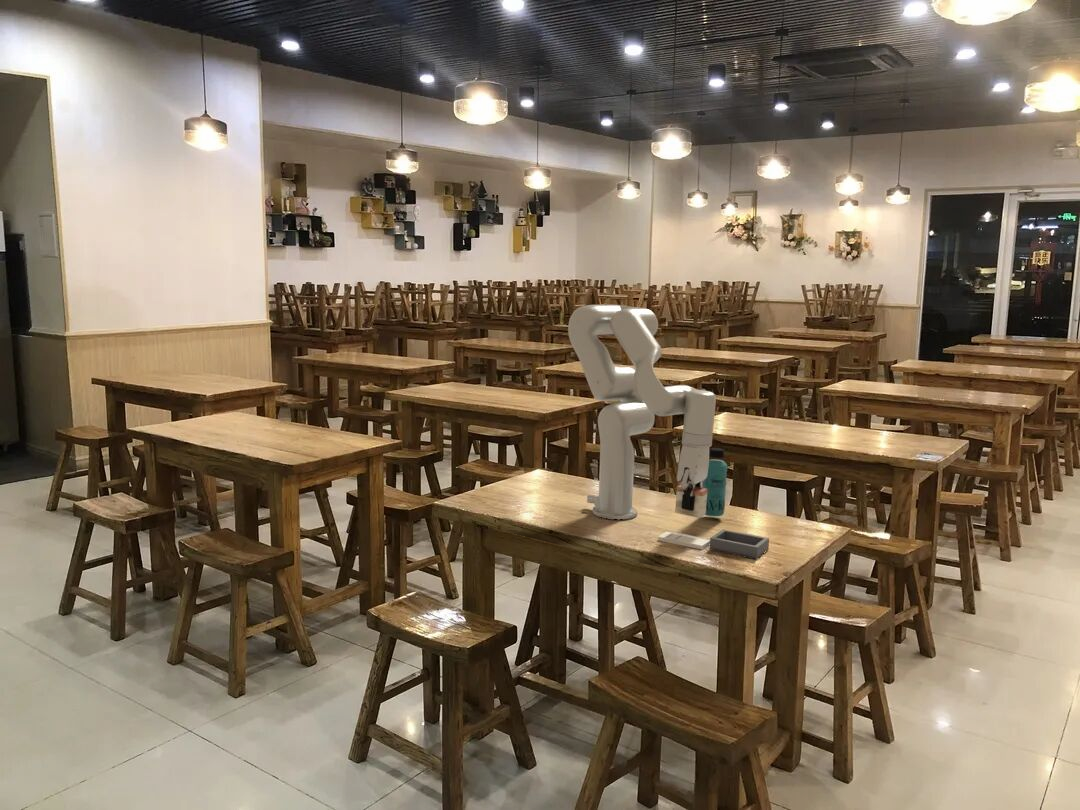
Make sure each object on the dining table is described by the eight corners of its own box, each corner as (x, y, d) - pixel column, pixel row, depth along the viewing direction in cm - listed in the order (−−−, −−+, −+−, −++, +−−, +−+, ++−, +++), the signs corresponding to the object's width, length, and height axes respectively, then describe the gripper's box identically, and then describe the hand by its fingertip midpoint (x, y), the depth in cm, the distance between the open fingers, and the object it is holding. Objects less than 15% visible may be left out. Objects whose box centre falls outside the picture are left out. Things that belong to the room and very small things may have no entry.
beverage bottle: (696, 516, 241) (700, 446, 238) (716, 514, 243) (720, 445, 240) (708, 522, 235) (712, 451, 232) (729, 520, 237) (733, 450, 234)
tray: (709, 549, 212) (710, 538, 212) (722, 540, 220) (723, 529, 219) (756, 559, 206) (757, 547, 205) (768, 549, 213) (769, 538, 213)
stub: (674, 512, 222) (676, 486, 221) (680, 509, 225) (682, 483, 224) (700, 518, 218) (702, 491, 217) (705, 514, 221) (707, 488, 220)
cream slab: (657, 540, 218) (658, 536, 218) (667, 534, 223) (667, 530, 223) (702, 549, 212) (702, 545, 212) (711, 543, 217) (711, 539, 217)
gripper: (695, 431, 227) (689, 497, 230) (670, 441, 213) (664, 512, 216) (722, 436, 223) (716, 503, 226) (698, 446, 209) (691, 518, 213)
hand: (690, 507), depth 221 cm, fingers closed on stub, 3 cm apart
